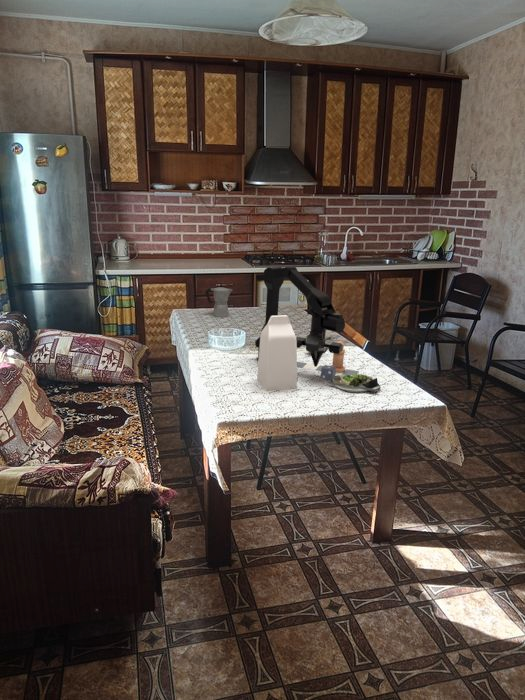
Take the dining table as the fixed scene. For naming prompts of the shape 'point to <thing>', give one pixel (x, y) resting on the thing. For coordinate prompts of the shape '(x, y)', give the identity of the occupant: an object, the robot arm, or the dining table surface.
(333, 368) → the die
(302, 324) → the dining table surface
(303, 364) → the board
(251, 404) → the dining table surface
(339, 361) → the pawn
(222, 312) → the coffeepot
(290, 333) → the milk
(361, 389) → the salad plate
